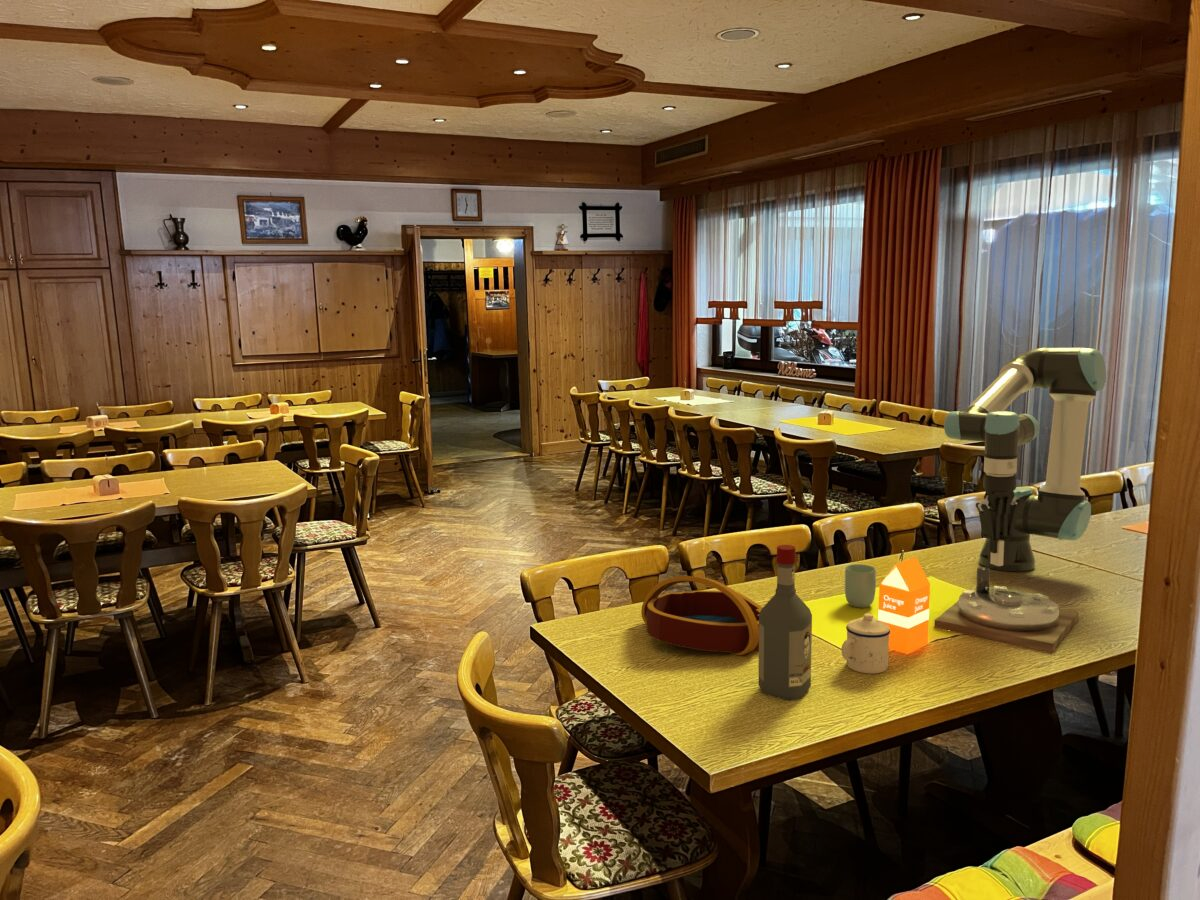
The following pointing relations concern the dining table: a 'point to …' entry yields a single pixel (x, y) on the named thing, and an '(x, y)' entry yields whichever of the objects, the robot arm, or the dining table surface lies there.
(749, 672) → the dining table surface
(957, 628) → the base plate
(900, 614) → the orange juice
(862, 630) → the teacup with lid
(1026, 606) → the crank wheel
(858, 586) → the cup
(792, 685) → the liquor
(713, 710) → the dining table surface
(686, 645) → the decorative basket
